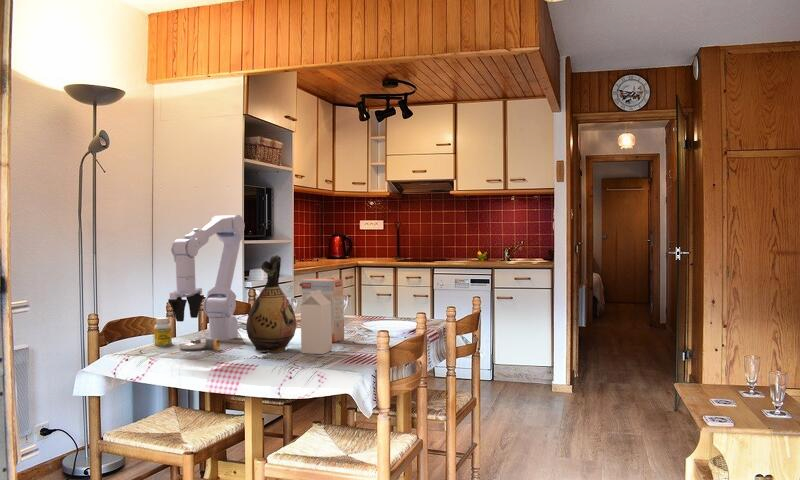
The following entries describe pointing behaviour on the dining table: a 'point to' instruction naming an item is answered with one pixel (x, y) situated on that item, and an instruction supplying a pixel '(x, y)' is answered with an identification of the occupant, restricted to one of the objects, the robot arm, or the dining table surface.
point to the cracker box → (334, 294)
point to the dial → (200, 344)
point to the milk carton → (316, 324)
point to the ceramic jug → (271, 314)
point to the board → (176, 350)
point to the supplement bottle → (162, 332)
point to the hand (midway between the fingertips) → (187, 319)
